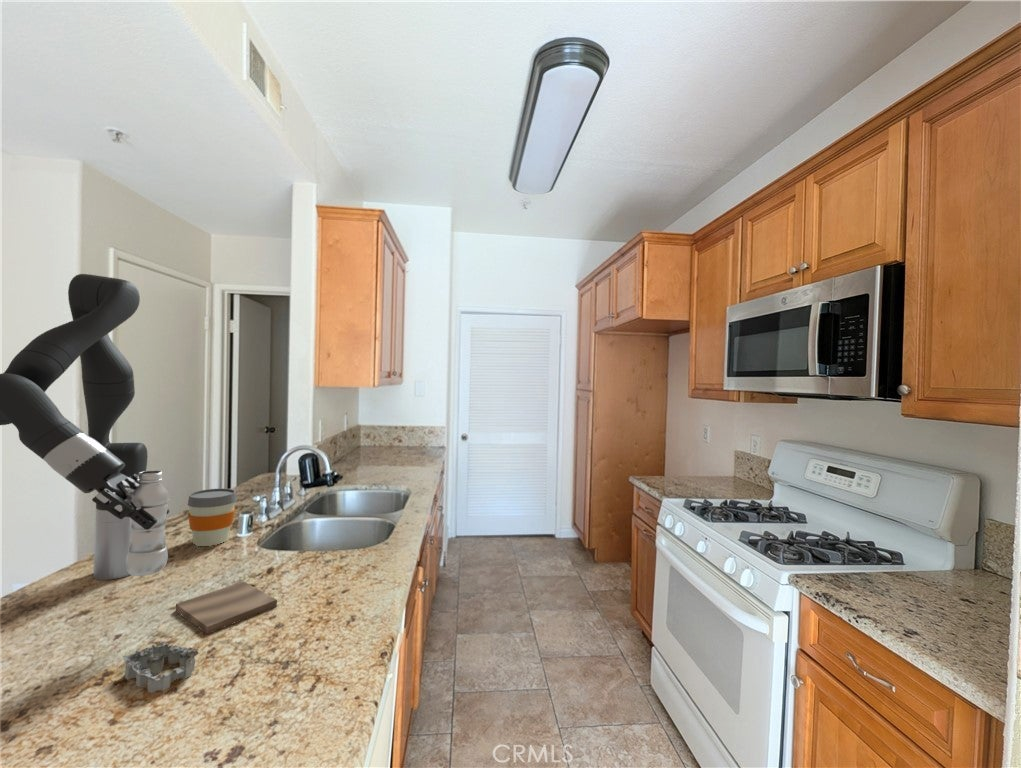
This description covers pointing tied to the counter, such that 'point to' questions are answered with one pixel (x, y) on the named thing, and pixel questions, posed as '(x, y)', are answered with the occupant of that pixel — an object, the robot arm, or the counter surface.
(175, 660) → the metal cookie cutter
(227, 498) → the reusable coffee cup
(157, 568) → the plastic bottle
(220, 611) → the walnut board
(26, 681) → the counter surface
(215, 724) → the counter surface
